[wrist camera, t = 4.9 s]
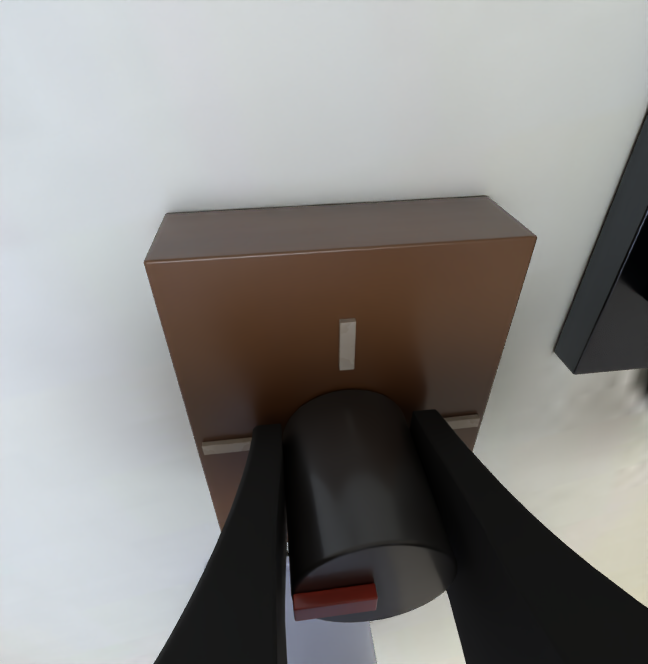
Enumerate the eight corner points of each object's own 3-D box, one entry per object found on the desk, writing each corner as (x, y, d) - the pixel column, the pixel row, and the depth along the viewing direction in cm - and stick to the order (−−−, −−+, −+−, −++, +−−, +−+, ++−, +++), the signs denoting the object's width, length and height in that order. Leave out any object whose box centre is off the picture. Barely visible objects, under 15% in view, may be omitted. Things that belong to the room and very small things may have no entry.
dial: (411, 381, 11) (480, 549, 8) (399, 464, 13) (449, 626, 10) (277, 394, 11) (286, 575, 7) (286, 477, 13) (296, 649, 9)
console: (429, 464, 18) (453, 526, 15) (229, 486, 17) (225, 555, 15) (488, 195, 11) (543, 239, 9) (164, 213, 10) (140, 265, 8)
